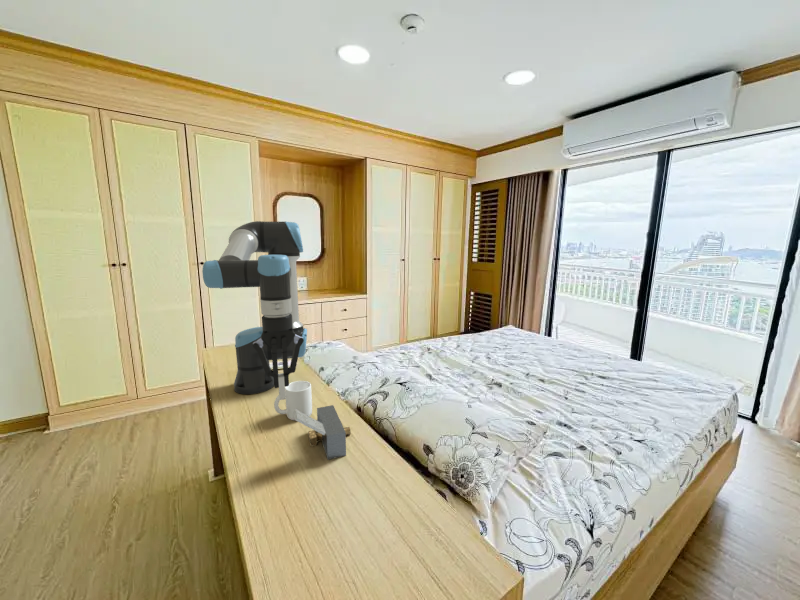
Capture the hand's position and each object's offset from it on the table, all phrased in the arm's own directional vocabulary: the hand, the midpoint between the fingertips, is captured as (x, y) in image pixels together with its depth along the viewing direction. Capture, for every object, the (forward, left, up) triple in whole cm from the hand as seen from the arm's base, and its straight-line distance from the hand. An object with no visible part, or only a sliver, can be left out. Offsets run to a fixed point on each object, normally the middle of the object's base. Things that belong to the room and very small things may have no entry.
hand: (282, 397), depth 92 cm
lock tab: (+7, +6, -5) cm, 11 cm away
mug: (-17, +4, -15) cm, 23 cm away
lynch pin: (+1, +13, -15) cm, 20 cm away
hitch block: (+2, +12, -15) cm, 20 cm away
